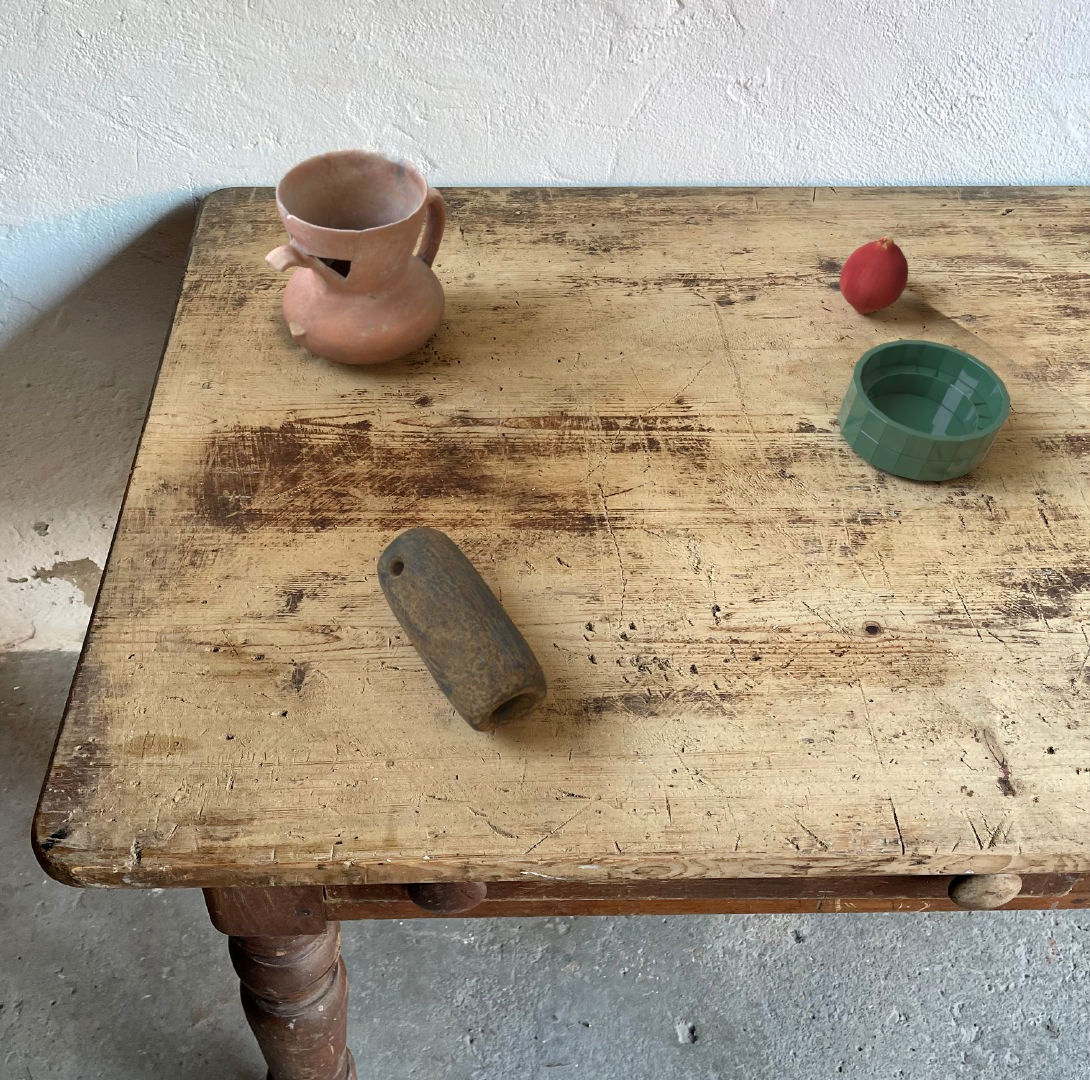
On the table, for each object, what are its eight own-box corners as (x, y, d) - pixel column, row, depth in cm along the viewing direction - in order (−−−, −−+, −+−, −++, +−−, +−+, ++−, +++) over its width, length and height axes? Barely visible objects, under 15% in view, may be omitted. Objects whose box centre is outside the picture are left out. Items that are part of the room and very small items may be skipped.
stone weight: (362, 605, 73) (353, 546, 67) (443, 564, 75) (441, 504, 70) (476, 758, 65) (476, 704, 60) (562, 707, 68) (569, 651, 62)
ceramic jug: (334, 411, 85) (313, 266, 74) (246, 328, 92) (214, 183, 81) (496, 328, 92) (499, 184, 81) (403, 256, 99) (394, 114, 88)
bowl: (904, 368, 89) (924, 322, 85) (1015, 448, 83) (1043, 402, 79) (805, 419, 85) (822, 373, 81) (915, 507, 79) (939, 462, 75)
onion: (844, 285, 97) (871, 209, 90) (901, 307, 95) (932, 231, 88) (820, 315, 94) (845, 239, 87) (878, 338, 92) (908, 262, 85)
